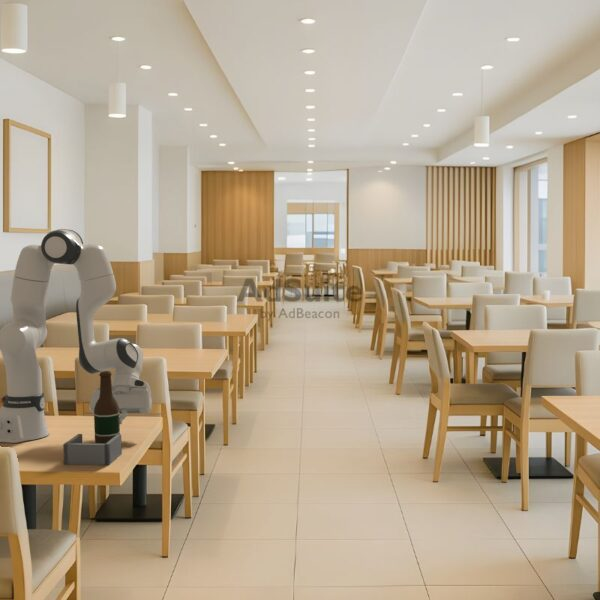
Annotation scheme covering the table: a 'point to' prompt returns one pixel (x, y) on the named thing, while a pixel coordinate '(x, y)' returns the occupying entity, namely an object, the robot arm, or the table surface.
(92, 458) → the bottle stall
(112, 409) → the beer bottle
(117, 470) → the table surface
